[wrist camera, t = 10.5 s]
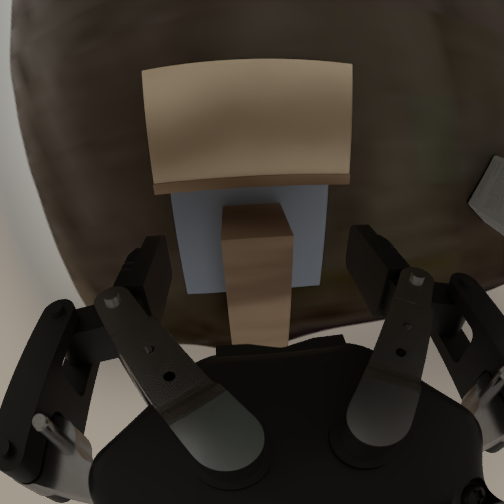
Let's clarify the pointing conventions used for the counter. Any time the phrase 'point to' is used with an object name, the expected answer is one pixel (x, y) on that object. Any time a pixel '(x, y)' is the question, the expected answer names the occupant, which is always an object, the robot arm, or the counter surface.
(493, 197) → the skincare box
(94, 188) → the counter surface
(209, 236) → the rubber mat
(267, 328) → the walnut block
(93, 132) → the counter surface
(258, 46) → the counter surface
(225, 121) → the beech step
